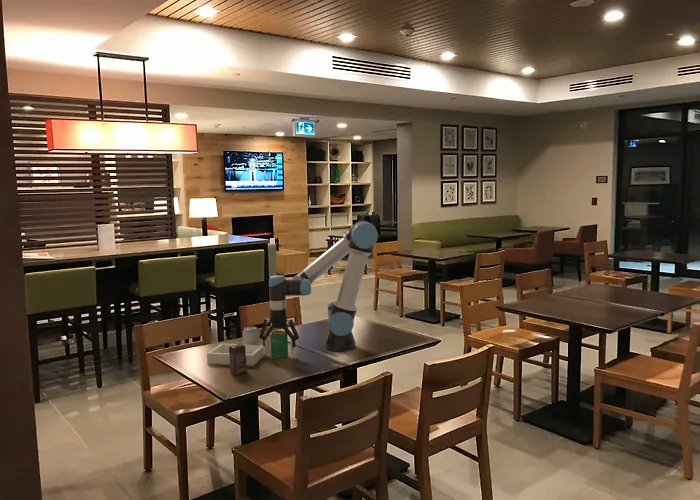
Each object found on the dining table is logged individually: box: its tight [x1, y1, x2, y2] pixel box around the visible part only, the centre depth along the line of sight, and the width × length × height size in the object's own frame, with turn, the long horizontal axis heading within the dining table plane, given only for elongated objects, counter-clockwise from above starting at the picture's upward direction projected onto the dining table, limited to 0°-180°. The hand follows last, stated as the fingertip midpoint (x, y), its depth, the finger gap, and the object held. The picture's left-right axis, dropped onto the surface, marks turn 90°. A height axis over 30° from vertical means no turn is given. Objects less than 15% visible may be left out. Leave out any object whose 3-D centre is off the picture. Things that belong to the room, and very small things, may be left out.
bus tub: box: [206, 343, 266, 367], centre depth 263 cm, size 22×16×5 cm
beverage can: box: [270, 330, 289, 361], centre depth 265 cm, size 8×8×12 cm
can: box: [242, 326, 260, 345], centre depth 275 cm, size 8×8×12 cm
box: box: [229, 343, 248, 376], centre depth 244 cm, size 6×4×12 cm
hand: (279, 353), depth 265 cm, fingers open, 12 cm apart
